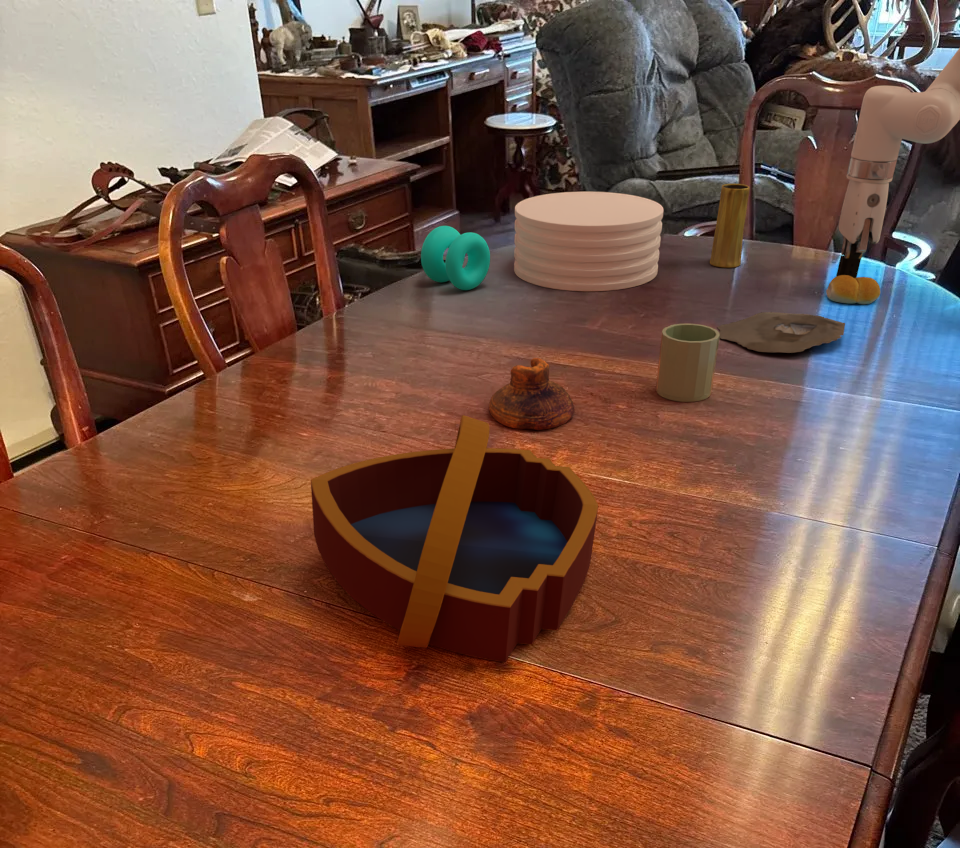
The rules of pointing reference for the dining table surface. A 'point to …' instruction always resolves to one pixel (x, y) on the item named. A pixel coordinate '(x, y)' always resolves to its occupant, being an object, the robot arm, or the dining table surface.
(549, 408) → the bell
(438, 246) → the donuts
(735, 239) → the vase
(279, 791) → the dining table surface
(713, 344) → the teacup
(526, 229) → the plate stack
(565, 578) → the decorative basket
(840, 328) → the fabric swatch
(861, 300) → the bread roll
